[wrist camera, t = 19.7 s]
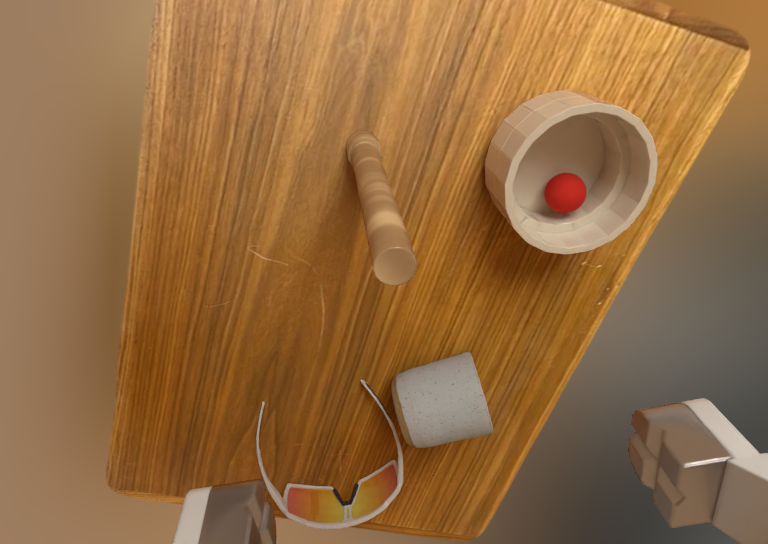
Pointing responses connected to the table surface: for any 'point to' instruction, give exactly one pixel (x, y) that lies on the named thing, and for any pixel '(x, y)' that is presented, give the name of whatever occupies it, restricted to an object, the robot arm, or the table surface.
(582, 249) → the bowl
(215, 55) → the table surface
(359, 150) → the stir stick
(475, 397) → the ceramic mug
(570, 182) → the red ball
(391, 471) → the sunglasses
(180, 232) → the table surface
